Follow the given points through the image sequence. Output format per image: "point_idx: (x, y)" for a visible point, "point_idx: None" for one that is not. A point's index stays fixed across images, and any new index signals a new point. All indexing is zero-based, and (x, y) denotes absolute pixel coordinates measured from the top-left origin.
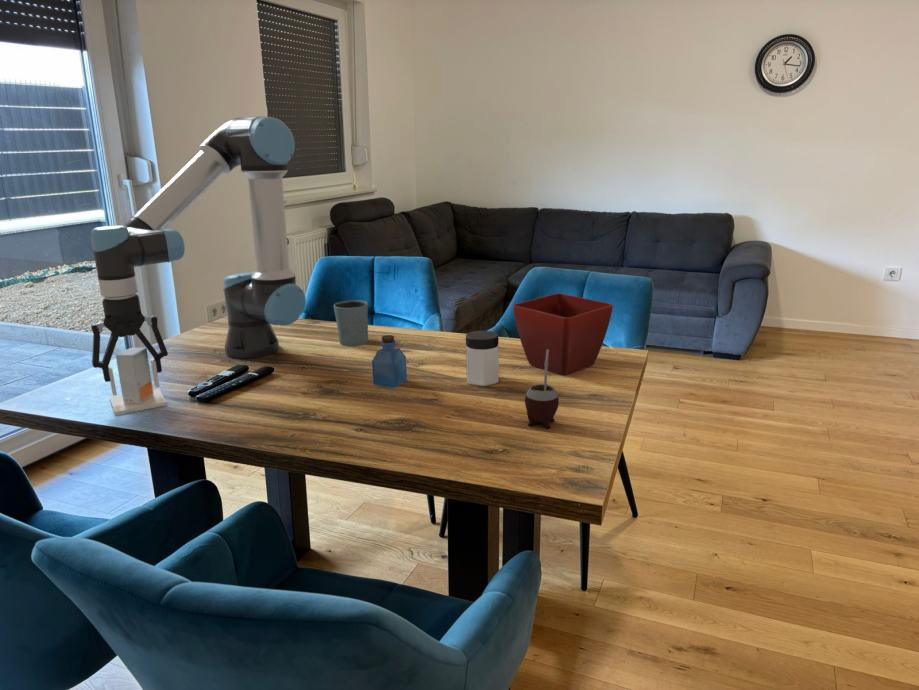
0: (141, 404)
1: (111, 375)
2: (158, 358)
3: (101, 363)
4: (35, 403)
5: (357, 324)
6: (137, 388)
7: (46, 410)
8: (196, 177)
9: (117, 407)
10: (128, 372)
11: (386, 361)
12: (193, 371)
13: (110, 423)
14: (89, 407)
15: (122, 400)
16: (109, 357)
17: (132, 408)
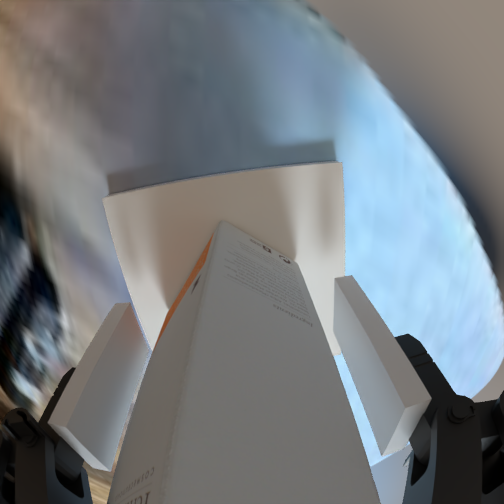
0: (213, 212)
1: (394, 360)
2: (13, 422)
3: (481, 433)
4: (474, 368)
5: None
6: (212, 254)
7: (481, 319)
8: None
9: (326, 223)
10: (261, 357)
11: None
12: None
13: (351, 71)
14: (405, 304)
15: None
16: (446, 498)
17: (257, 171)
